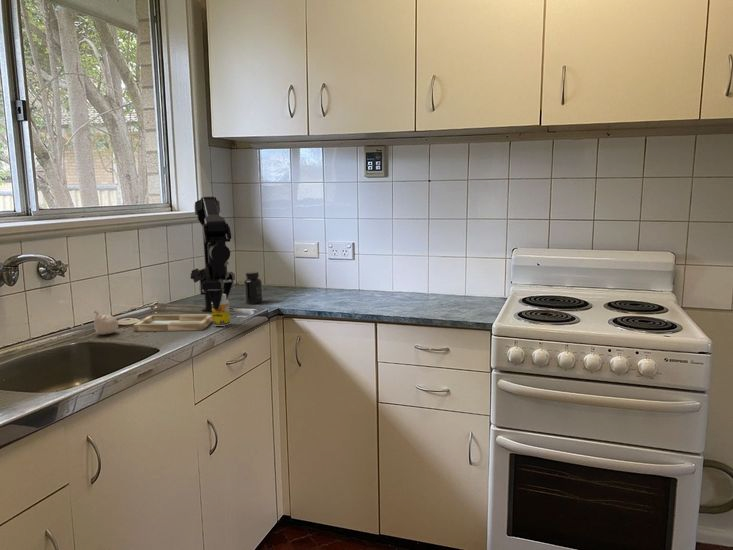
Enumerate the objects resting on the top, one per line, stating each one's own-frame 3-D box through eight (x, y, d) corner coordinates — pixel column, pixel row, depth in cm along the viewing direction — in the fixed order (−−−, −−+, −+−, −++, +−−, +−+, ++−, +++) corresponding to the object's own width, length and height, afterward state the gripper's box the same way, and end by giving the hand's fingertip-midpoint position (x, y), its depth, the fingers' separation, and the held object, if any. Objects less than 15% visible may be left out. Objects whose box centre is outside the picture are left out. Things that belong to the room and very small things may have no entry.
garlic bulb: (101, 331, 176) (99, 307, 174) (122, 331, 176) (119, 306, 174) (92, 337, 169) (89, 311, 168) (112, 336, 169) (110, 311, 168)
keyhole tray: (150, 320, 189) (150, 314, 189) (214, 319, 189) (214, 313, 189) (133, 331, 175) (133, 325, 175) (202, 330, 175) (202, 323, 175)
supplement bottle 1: (209, 326, 180) (207, 295, 178) (219, 322, 185) (217, 292, 183) (223, 327, 178) (221, 296, 176) (233, 323, 183) (232, 293, 181)
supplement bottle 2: (260, 300, 220) (258, 270, 218) (265, 303, 214) (263, 272, 212) (243, 302, 217) (241, 272, 215) (247, 305, 211) (245, 274, 209)
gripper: (201, 255, 187) (204, 300, 189) (183, 263, 169) (186, 313, 171) (234, 255, 187) (236, 300, 189) (219, 263, 168) (222, 312, 171)
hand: (220, 306), depth 180 cm, fingers open, 9 cm apart
